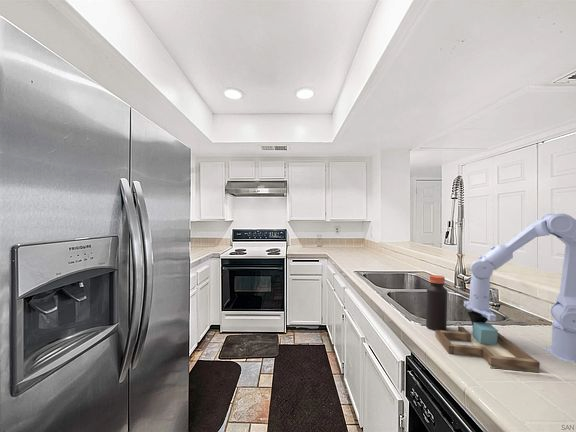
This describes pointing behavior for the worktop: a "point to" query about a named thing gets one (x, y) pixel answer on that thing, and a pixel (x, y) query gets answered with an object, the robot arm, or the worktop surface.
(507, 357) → the wooden zigzag frame
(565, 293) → the robot arm
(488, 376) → the worktop surface
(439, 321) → the bottle
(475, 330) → the block
